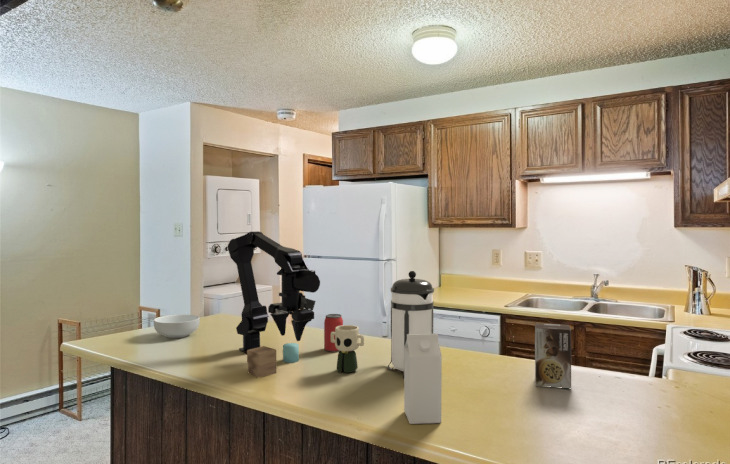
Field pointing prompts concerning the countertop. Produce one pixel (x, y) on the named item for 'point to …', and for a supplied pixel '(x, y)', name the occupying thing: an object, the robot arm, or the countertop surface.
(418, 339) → the milk carton
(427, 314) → the coffee press
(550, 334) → the cookie box
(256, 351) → the stepped brown block
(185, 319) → the cereal bowl
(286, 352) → the teal rounded cylinder
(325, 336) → the beer can
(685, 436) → the countertop surface
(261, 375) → the bottom slab
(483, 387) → the countertop surface
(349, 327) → the character mug
